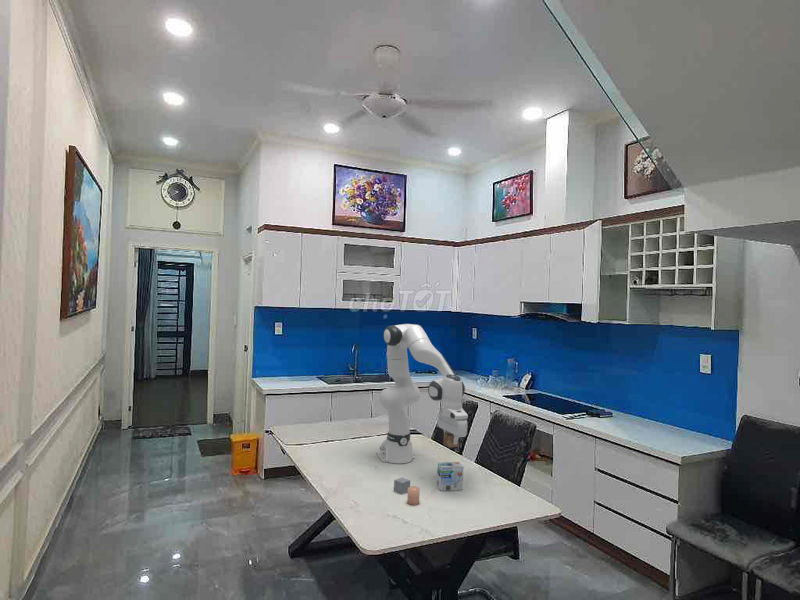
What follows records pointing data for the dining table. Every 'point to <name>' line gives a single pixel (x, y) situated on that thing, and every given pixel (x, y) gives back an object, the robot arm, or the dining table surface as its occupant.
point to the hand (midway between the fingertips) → (451, 441)
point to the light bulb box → (450, 476)
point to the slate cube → (401, 485)
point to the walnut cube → (450, 440)
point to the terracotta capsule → (413, 495)
